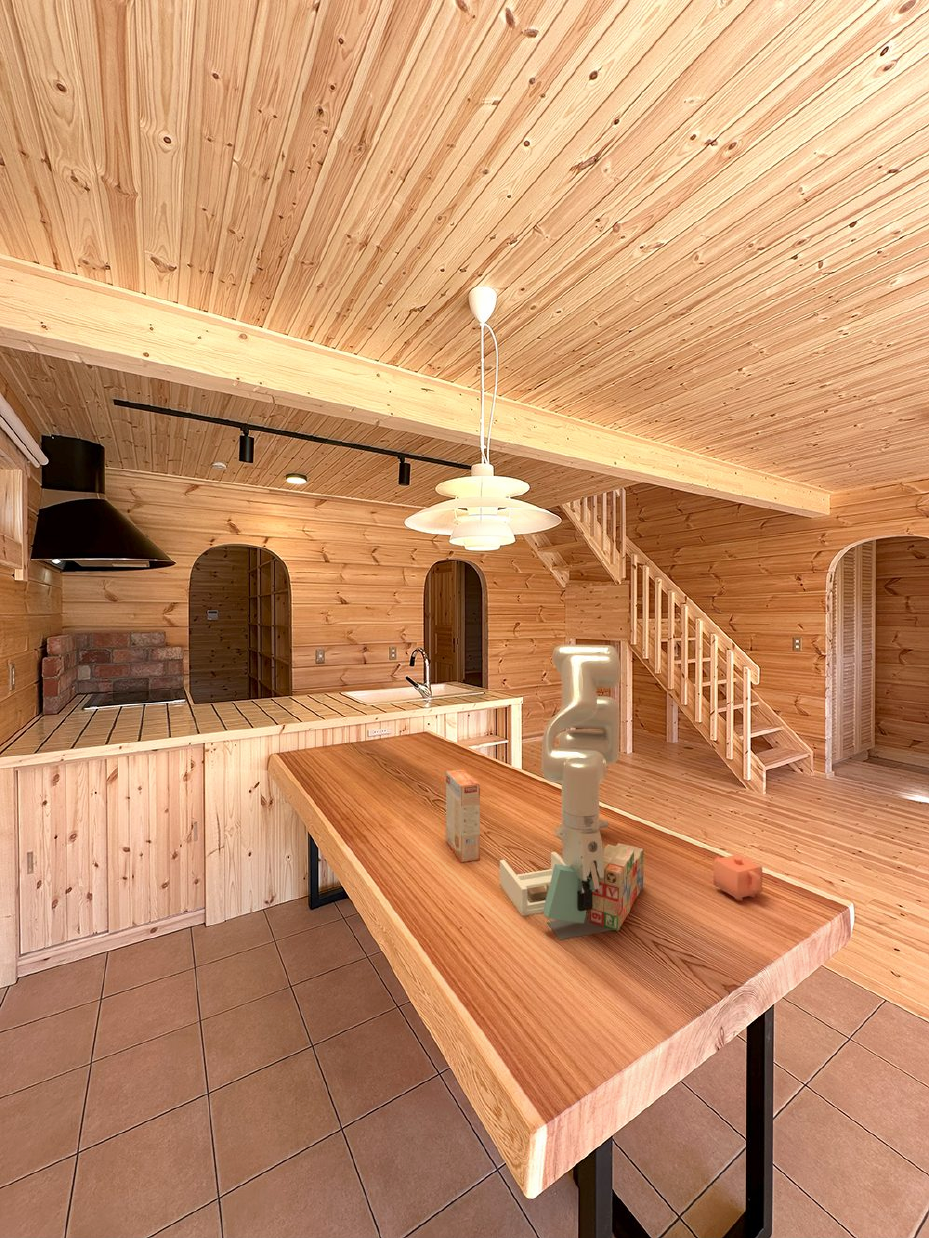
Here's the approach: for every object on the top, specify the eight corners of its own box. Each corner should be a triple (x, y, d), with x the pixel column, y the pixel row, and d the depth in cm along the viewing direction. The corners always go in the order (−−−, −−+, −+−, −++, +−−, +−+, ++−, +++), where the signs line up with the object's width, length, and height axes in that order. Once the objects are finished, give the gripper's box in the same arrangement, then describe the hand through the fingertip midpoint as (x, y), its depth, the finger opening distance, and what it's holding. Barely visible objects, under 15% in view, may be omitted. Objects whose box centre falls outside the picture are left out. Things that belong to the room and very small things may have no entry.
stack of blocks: (617, 879, 128) (618, 830, 128) (643, 887, 125) (644, 836, 125) (588, 921, 110) (590, 864, 110) (618, 931, 107) (619, 872, 107)
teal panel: (589, 869, 111) (555, 863, 109) (595, 875, 109) (560, 869, 107) (577, 916, 111) (542, 911, 108) (583, 923, 108) (547, 918, 106)
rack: (555, 875, 131) (555, 851, 131) (583, 905, 118) (583, 878, 118) (499, 884, 127) (499, 860, 127) (522, 916, 113) (522, 889, 113)
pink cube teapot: (727, 876, 130) (727, 843, 130) (770, 901, 119) (770, 865, 119) (703, 882, 127) (703, 848, 127) (745, 908, 116) (745, 871, 116)
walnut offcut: (543, 896, 120) (543, 885, 120) (548, 902, 117) (547, 891, 117) (527, 899, 118) (527, 888, 118) (531, 905, 116) (531, 893, 116)
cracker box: (481, 860, 139) (481, 782, 139) (460, 864, 137) (459, 785, 137) (465, 838, 152) (464, 768, 152) (445, 841, 151) (444, 770, 150)
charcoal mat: (600, 913, 114) (600, 911, 114) (616, 929, 109) (616, 927, 109) (547, 924, 111) (547, 922, 111) (560, 941, 105) (560, 939, 105)
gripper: (618, 831, 103) (618, 924, 103) (577, 803, 118) (578, 884, 118) (584, 836, 100) (584, 931, 101) (547, 807, 116) (548, 889, 116)
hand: (581, 904), depth 109 cm, fingers closed on teal panel, 2 cm apart
